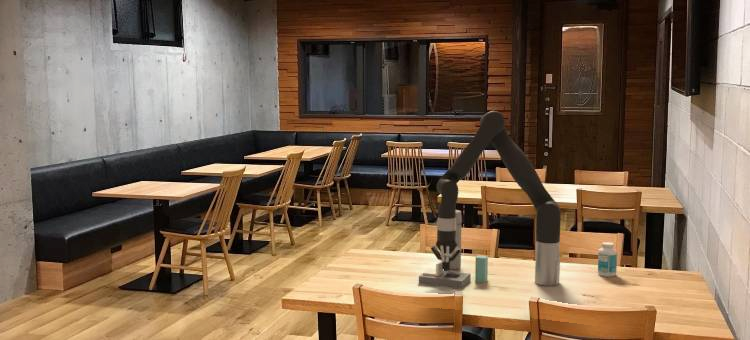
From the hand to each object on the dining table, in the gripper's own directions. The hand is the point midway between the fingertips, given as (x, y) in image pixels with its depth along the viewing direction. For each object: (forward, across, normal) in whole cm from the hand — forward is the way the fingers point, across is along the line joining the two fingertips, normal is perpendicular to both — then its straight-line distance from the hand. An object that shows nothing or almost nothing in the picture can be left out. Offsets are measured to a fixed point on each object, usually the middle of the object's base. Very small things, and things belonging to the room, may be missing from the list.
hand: (445, 270), depth 299 cm
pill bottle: (+5, -59, -37) cm, 69 cm away
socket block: (+5, 0, 0) cm, 5 cm away
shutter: (+2, +5, 0) cm, 6 cm away
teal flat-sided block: (+5, -12, -8) cm, 16 cm away
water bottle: (+5, +4, -23) cm, 24 cm away
